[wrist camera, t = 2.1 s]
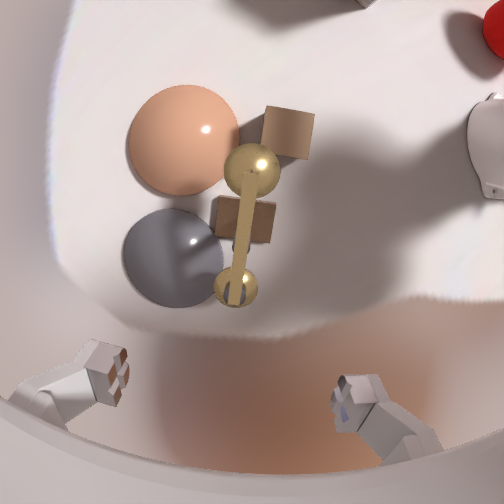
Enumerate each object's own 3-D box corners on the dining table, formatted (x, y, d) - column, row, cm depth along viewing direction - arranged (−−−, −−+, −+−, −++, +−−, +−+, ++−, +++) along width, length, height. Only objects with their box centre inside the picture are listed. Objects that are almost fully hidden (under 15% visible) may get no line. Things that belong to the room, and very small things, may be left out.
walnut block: (304, 119, 32) (314, 114, 27) (298, 158, 34) (307, 159, 28) (264, 113, 32) (266, 105, 26) (258, 151, 34) (259, 151, 28)
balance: (284, 150, 34) (301, 149, 21) (261, 286, 40) (264, 348, 27) (226, 142, 33) (210, 136, 21) (211, 279, 40) (192, 338, 27)
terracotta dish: (247, 91, 31) (246, 89, 30) (231, 200, 36) (230, 202, 35) (140, 86, 31) (136, 84, 29) (128, 189, 35) (124, 190, 34)
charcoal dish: (229, 215, 36) (228, 217, 35) (218, 310, 41) (217, 314, 40) (127, 203, 36) (124, 205, 35) (128, 295, 41) (125, 299, 39)
